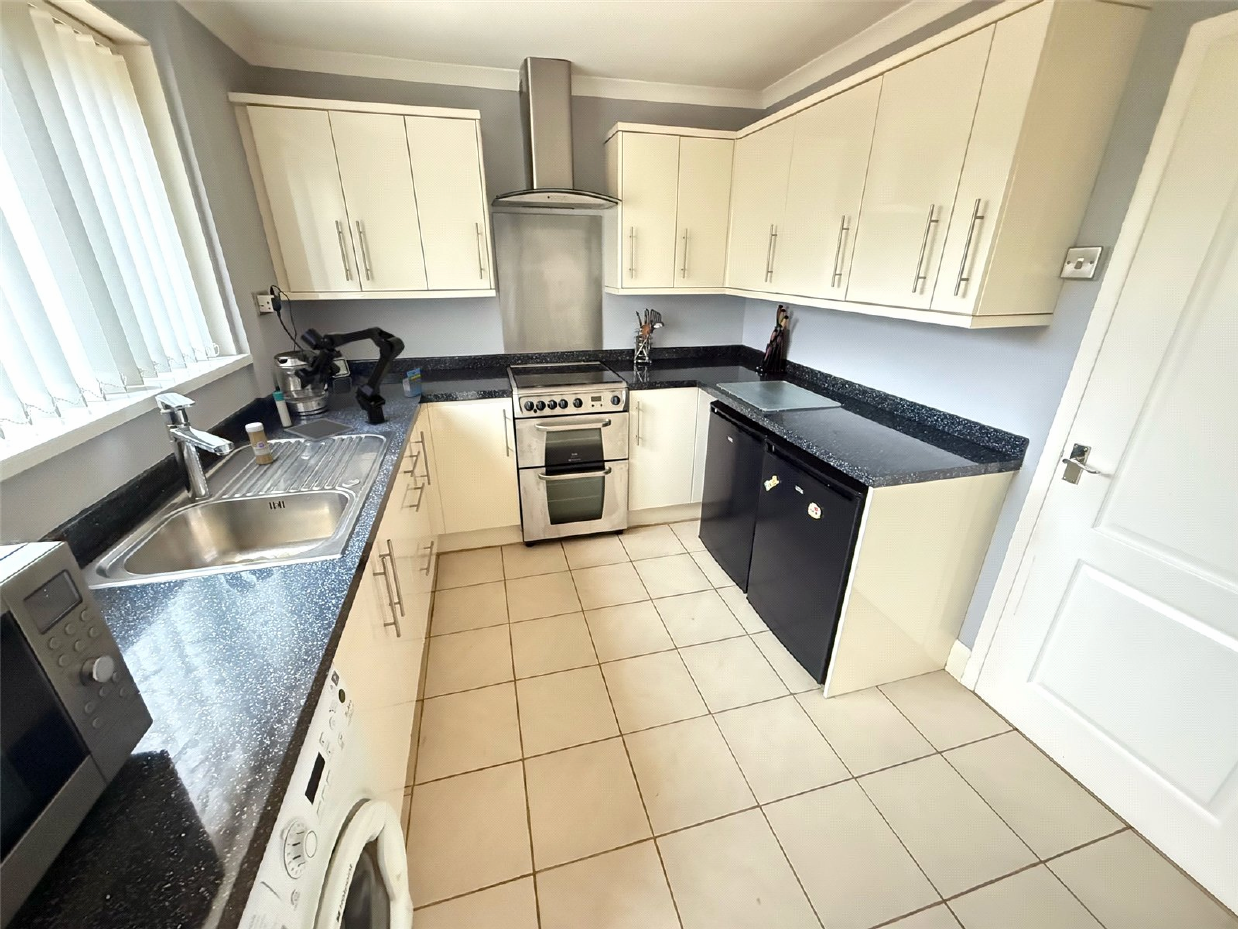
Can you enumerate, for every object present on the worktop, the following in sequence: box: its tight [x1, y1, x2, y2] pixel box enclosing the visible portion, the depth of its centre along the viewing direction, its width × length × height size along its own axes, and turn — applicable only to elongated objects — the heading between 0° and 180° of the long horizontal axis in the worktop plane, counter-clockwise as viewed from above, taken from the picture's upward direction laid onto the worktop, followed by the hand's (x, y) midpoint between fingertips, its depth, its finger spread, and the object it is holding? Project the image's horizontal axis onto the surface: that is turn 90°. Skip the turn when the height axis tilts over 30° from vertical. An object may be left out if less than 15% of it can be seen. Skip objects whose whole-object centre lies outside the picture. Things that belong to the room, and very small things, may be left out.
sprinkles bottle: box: [245, 422, 274, 465], centre depth 162 cm, size 5×5×13 cm
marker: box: [272, 391, 293, 429], centre depth 195 cm, size 3×3×14 cm
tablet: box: [283, 418, 357, 443], centre depth 193 cm, size 22×16×1 cm
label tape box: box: [402, 367, 424, 398], centre depth 236 cm, size 9×4×12 cm, turn 164°
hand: (310, 385), depth 202 cm, fingers open, 9 cm apart
